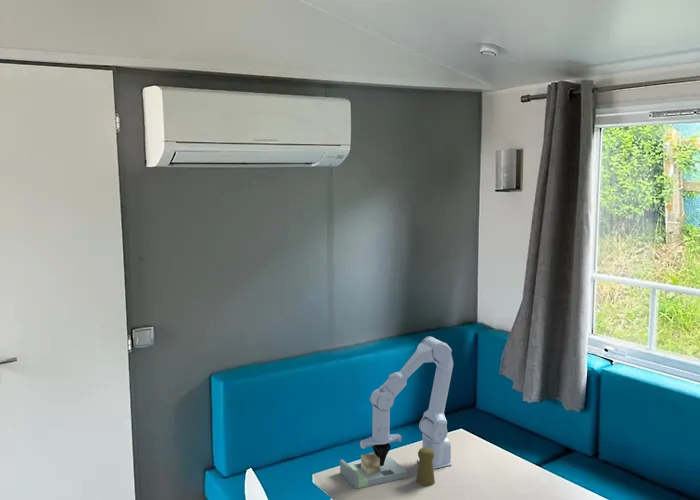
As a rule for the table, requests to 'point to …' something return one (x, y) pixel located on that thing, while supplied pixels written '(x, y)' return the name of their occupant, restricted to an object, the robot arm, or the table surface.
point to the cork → (425, 467)
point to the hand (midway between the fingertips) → (380, 464)
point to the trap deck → (362, 479)
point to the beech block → (370, 463)
